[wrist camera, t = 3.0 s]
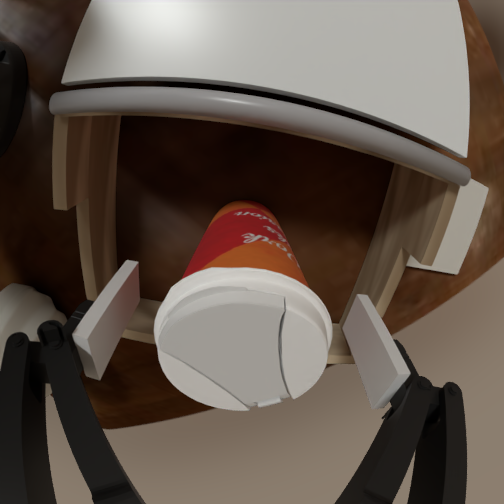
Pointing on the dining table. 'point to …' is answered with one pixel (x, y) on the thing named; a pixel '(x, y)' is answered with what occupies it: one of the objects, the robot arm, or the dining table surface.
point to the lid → (287, 68)
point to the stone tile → (458, 229)
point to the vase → (25, 314)
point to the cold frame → (108, 126)
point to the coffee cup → (243, 317)
